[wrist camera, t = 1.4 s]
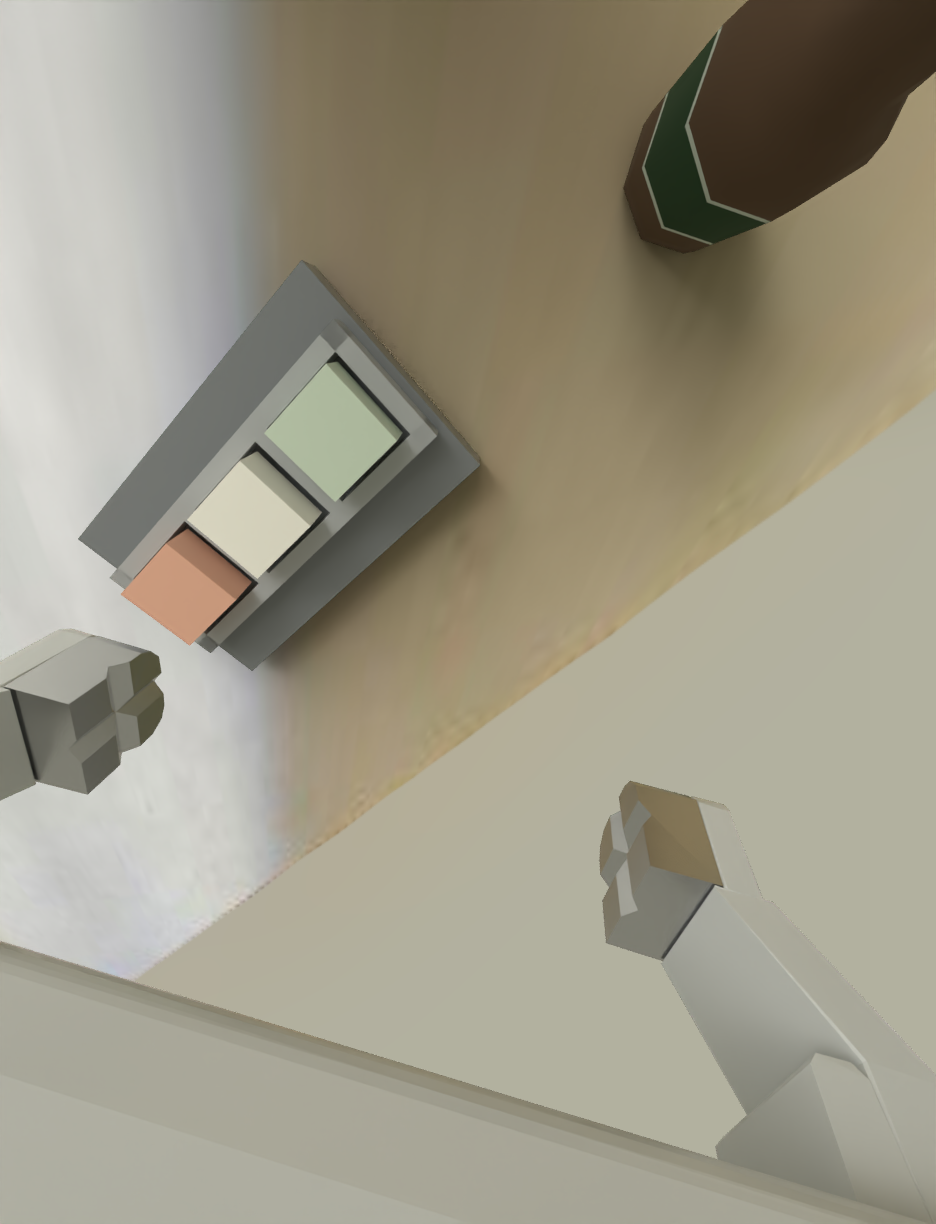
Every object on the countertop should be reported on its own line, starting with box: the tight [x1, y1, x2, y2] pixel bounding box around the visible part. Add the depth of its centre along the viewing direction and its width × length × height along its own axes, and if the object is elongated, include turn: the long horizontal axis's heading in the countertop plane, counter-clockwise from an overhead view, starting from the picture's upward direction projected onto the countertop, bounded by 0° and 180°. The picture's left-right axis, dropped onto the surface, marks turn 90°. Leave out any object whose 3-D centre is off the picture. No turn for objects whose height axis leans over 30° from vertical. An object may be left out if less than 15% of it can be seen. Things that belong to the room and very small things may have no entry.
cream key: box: [187, 451, 322, 579], centre depth 35 cm, size 6×6×3 cm
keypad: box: [78, 260, 480, 671], centre depth 38 cm, size 16×26×5 cm, turn 132°
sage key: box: [264, 362, 402, 502], centre depth 32 cm, size 6×6×3 cm
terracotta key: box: [121, 529, 252, 645], centre depth 37 cm, size 6×6×3 cm
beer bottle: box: [623, 0, 936, 253], centre depth 20 cm, size 8×8×24 cm
